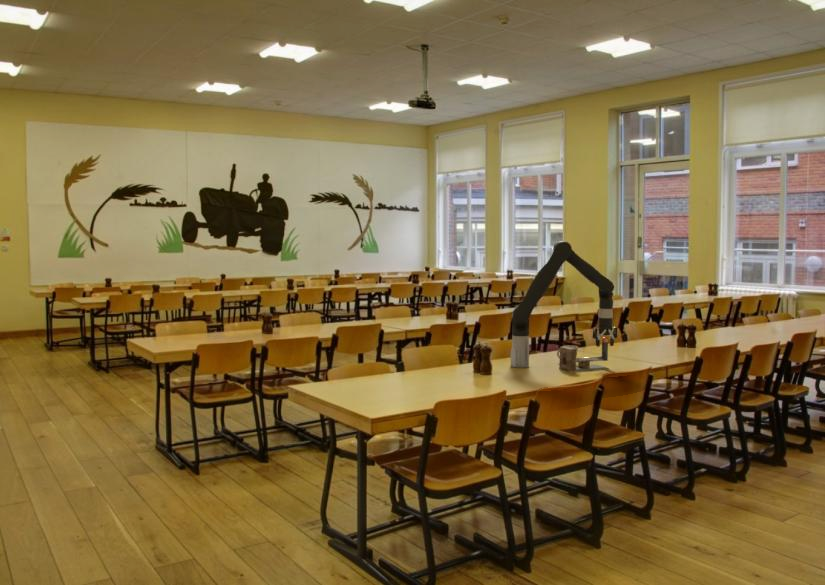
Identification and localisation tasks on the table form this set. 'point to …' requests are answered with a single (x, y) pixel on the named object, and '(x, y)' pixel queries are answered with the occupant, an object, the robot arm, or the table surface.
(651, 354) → the table surface
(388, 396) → the table surface
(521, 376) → the table surface
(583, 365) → the saddle
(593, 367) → the mat
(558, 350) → the mug
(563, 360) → the grey upright block
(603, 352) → the hook rod
